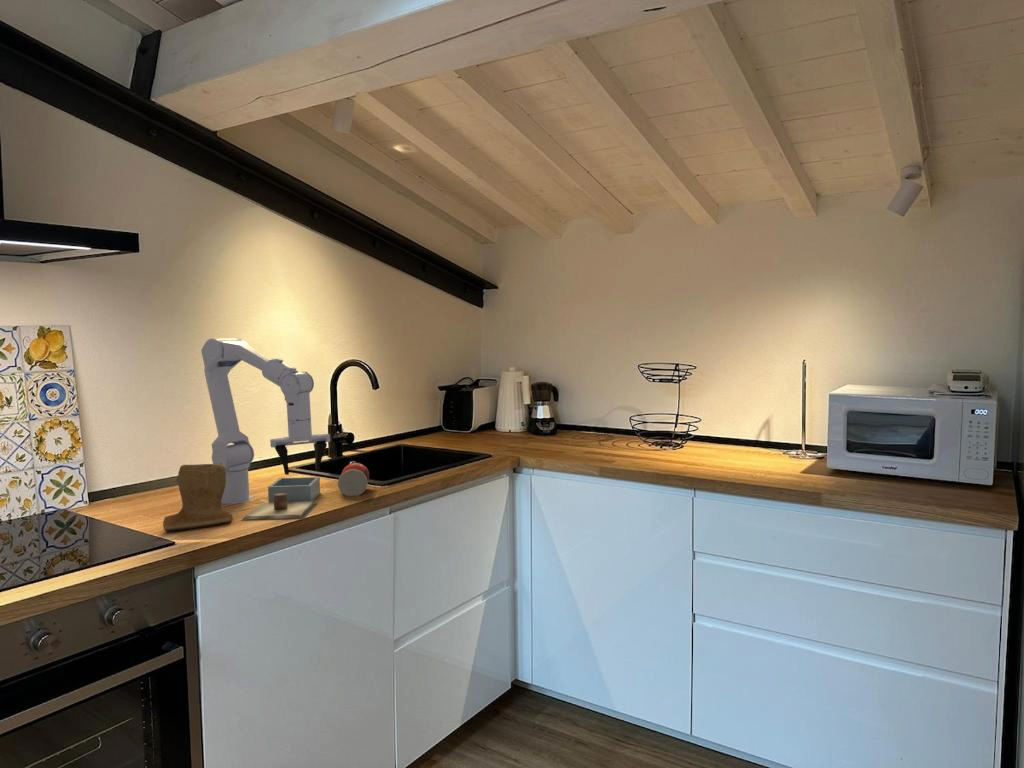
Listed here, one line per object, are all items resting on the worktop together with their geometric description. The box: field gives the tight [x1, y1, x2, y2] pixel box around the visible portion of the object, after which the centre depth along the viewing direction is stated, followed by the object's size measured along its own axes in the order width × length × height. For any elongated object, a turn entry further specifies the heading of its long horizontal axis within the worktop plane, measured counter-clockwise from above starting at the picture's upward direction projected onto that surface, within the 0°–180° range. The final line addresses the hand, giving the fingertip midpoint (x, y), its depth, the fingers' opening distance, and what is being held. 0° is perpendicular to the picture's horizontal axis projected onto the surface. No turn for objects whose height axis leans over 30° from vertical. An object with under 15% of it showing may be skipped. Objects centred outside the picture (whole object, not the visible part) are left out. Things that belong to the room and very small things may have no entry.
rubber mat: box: [240, 502, 318, 522], centre depth 173 cm, size 15×15×1 cm
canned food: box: [337, 462, 370, 497], centre depth 194 cm, size 8×8×11 cm
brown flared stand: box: [162, 463, 233, 532], centre depth 162 cm, size 15×12×15 cm
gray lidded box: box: [267, 476, 321, 503], centre depth 186 cm, size 11×11×5 cm
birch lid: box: [245, 493, 314, 519], centre depth 172 cm, size 13×13×4 cm
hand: (302, 472), depth 176 cm, fingers open, 7 cm apart
